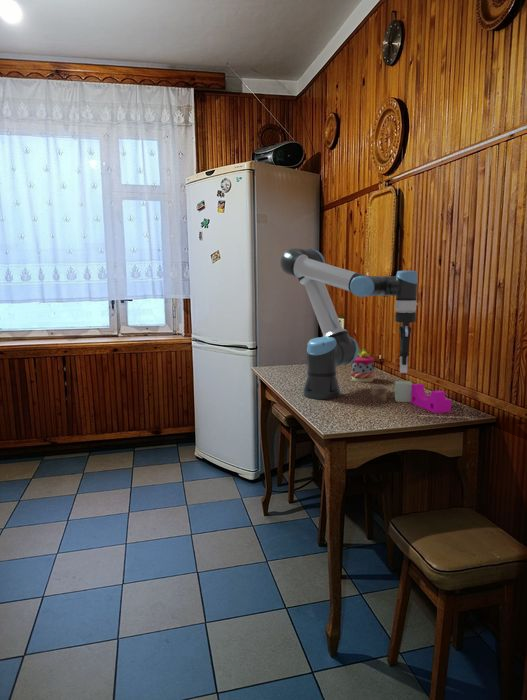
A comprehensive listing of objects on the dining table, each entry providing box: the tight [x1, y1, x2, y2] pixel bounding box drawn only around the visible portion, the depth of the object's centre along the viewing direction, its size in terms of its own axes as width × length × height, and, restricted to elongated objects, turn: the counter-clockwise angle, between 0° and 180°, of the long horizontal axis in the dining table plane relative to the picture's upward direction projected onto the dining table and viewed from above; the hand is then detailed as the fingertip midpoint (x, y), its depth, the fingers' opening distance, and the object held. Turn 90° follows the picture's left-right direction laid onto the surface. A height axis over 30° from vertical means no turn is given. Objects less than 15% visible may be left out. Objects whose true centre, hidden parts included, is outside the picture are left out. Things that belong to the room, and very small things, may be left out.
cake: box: [350, 348, 375, 383], centre depth 217 cm, size 10×11×15 cm
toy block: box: [410, 383, 452, 414], centre depth 171 cm, size 15×6×8 cm, turn 15°
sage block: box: [394, 380, 413, 403], centre depth 182 cm, size 6×6×7 cm
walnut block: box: [370, 385, 388, 402], centre depth 183 cm, size 5×5×5 cm
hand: (403, 372), depth 181 cm, fingers closed
